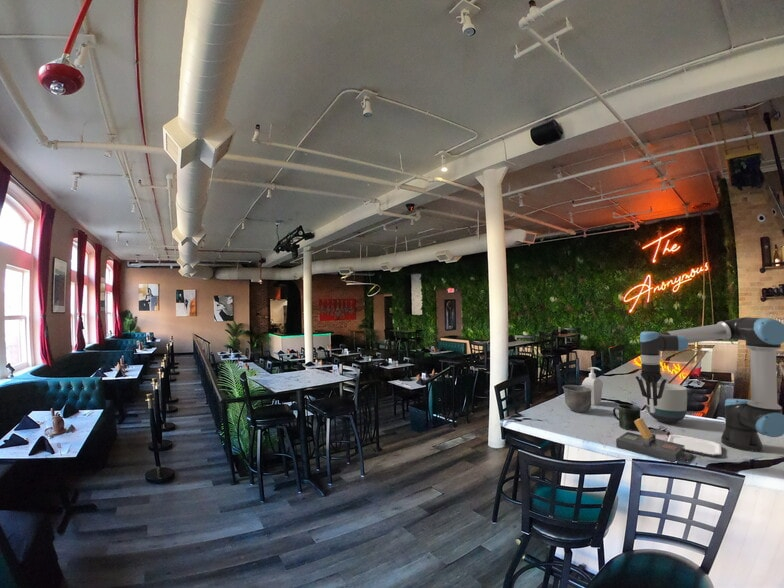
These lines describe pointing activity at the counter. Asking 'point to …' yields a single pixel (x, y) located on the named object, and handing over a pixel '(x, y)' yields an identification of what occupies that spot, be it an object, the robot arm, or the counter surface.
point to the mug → (627, 416)
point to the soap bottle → (594, 386)
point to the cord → (689, 457)
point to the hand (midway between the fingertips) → (652, 412)
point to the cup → (577, 397)
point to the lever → (643, 429)
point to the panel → (651, 447)
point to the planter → (669, 403)
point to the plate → (697, 445)
